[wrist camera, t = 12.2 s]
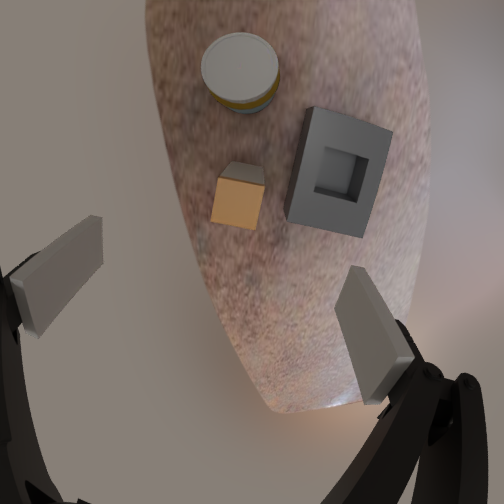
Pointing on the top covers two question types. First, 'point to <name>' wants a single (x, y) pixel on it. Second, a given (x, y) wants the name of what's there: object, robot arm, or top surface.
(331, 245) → the top surface
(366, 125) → the gray socket block
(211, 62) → the bottle
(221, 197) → the plug
